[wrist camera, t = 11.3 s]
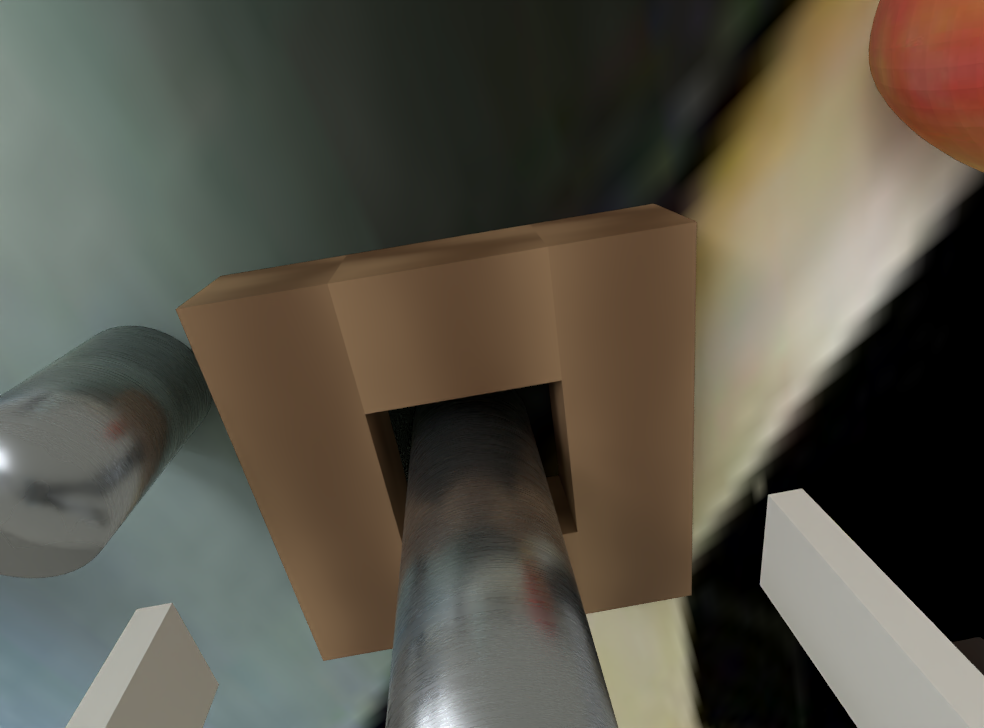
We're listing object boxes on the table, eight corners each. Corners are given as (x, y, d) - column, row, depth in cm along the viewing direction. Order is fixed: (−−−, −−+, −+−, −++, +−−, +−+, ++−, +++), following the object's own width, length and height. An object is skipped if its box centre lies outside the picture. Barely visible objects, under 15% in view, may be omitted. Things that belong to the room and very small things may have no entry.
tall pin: (425, 481, 20) (398, 1145, 7) (401, 385, 18) (308, 1031, 5) (534, 462, 20) (701, 1087, 7) (520, 364, 18) (708, 956, 5)
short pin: (110, 447, 18) (-32, 591, 13) (51, 337, 16) (-142, 448, 11) (230, 427, 18) (139, 561, 13) (183, 316, 16) (56, 415, 11)
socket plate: (338, 591, 22) (323, 660, 19) (220, 276, 16) (175, 309, 13) (659, 534, 22) (691, 595, 19) (654, 203, 16) (696, 222, 13)
